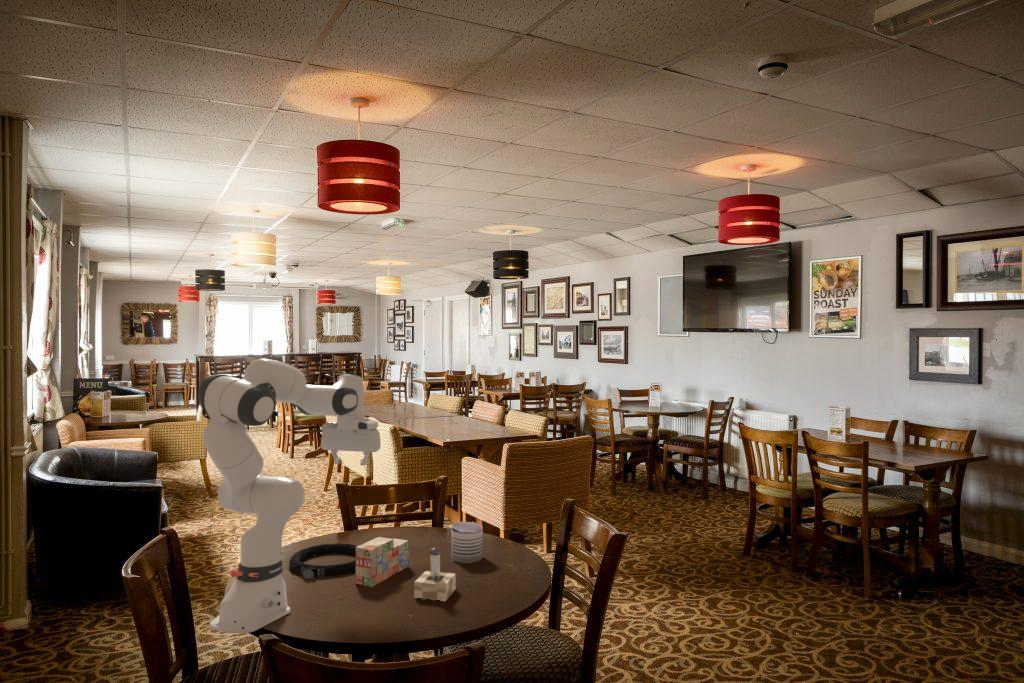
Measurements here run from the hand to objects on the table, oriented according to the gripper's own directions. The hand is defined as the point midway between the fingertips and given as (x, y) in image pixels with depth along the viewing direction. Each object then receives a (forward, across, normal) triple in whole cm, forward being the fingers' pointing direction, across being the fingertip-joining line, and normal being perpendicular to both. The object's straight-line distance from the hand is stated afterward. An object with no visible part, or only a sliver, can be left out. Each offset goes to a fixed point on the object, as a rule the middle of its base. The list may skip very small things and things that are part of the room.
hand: (350, 464), depth 221 cm
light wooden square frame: (+37, +33, -8) cm, 50 cm away
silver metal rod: (+37, +33, -8) cm, 50 cm away
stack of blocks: (+38, +11, +3) cm, 39 cm away
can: (+37, +33, +26) cm, 56 cm away
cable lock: (+38, -12, +8) cm, 40 cm away
